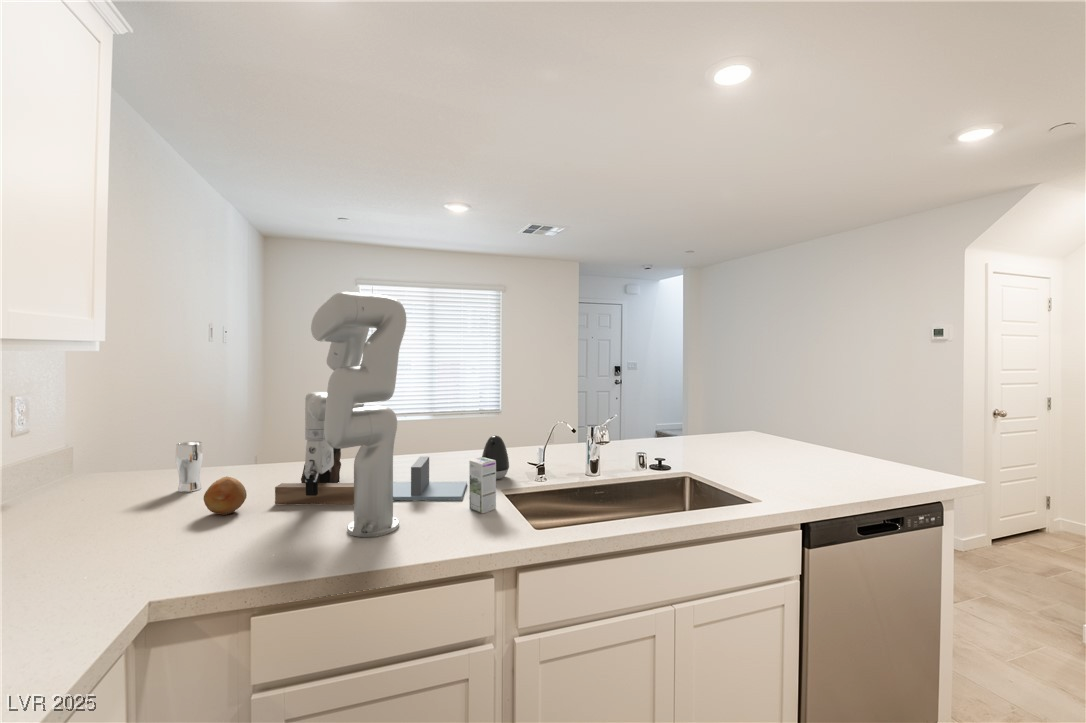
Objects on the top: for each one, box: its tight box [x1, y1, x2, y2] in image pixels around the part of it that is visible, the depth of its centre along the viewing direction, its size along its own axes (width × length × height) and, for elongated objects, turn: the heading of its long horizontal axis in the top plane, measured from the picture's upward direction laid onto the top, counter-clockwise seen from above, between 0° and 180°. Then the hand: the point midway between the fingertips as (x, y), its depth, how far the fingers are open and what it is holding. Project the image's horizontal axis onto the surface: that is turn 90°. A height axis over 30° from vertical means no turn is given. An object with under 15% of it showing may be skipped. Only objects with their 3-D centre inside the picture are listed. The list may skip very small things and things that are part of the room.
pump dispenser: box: [481, 435, 510, 480], centre depth 172 cm, size 10×10×15 cm
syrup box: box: [468, 456, 497, 514], centre depth 139 cm, size 6×6×14 cm
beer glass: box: [175, 440, 204, 493], centre depth 154 cm, size 7×7×15 cm
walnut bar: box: [274, 482, 354, 505], centre depth 144 cm, size 4×24×6 cm, turn 93°
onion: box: [203, 476, 247, 516], centre depth 134 cm, size 10×10×10 cm
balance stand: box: [393, 456, 468, 501], centre depth 154 cm, size 16×28×10 cm, turn 93°
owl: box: [300, 448, 342, 483], centre depth 161 cm, size 13×13×20 cm
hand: (318, 489), depth 144 cm, fingers open, 9 cm apart
